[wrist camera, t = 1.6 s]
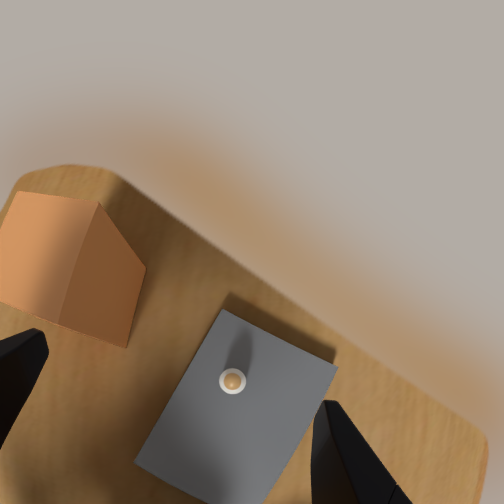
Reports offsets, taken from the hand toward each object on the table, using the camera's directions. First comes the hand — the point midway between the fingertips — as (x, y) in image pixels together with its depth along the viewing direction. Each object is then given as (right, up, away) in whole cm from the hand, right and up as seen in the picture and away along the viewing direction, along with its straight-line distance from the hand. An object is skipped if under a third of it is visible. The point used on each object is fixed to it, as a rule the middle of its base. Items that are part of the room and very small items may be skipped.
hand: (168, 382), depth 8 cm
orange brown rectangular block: (-9, 0, +14) cm, 17 cm away
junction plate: (+1, -8, +11) cm, 14 cm away
